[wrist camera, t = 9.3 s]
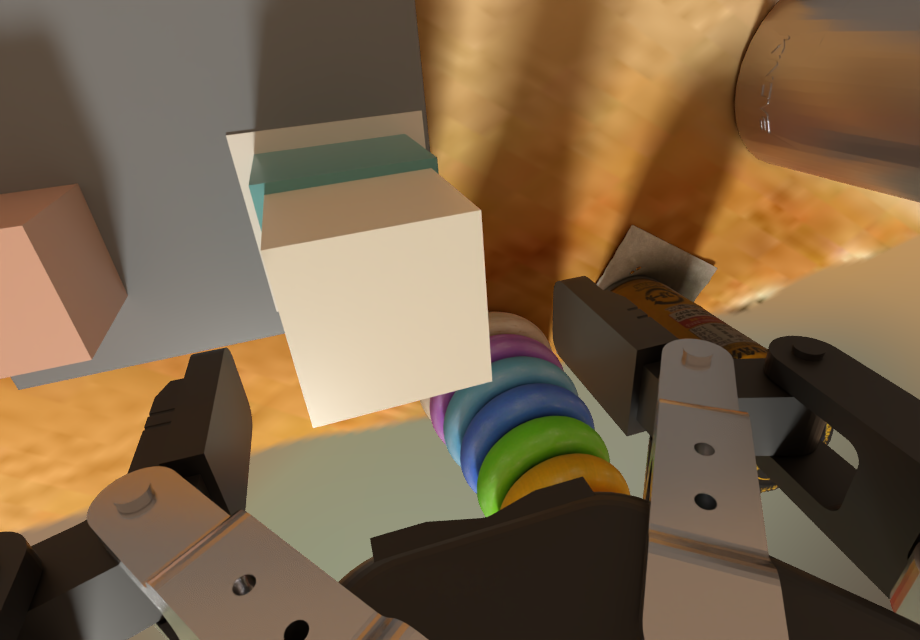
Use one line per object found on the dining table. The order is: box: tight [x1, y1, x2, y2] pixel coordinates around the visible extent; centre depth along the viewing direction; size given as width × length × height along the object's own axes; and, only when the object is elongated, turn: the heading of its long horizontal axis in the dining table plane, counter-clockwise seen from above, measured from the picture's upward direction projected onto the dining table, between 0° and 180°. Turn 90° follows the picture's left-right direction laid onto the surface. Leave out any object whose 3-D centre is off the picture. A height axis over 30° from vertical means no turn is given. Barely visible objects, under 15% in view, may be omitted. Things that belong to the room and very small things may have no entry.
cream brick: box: [261, 168, 492, 428], centre depth 16 cm, size 5×5×5 cm
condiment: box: [557, 225, 833, 493], centre depth 26 cm, size 7×8×12 cm
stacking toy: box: [420, 312, 630, 517], centre depth 22 cm, size 8×8×19 cm
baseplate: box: [0, 0, 430, 390], centre depth 20 cm, size 18×15×1 cm
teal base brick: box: [248, 134, 438, 232], centre depth 20 cm, size 6×6×5 cm
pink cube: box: [0, 184, 128, 379], centre depth 17 cm, size 5×5×5 cm
